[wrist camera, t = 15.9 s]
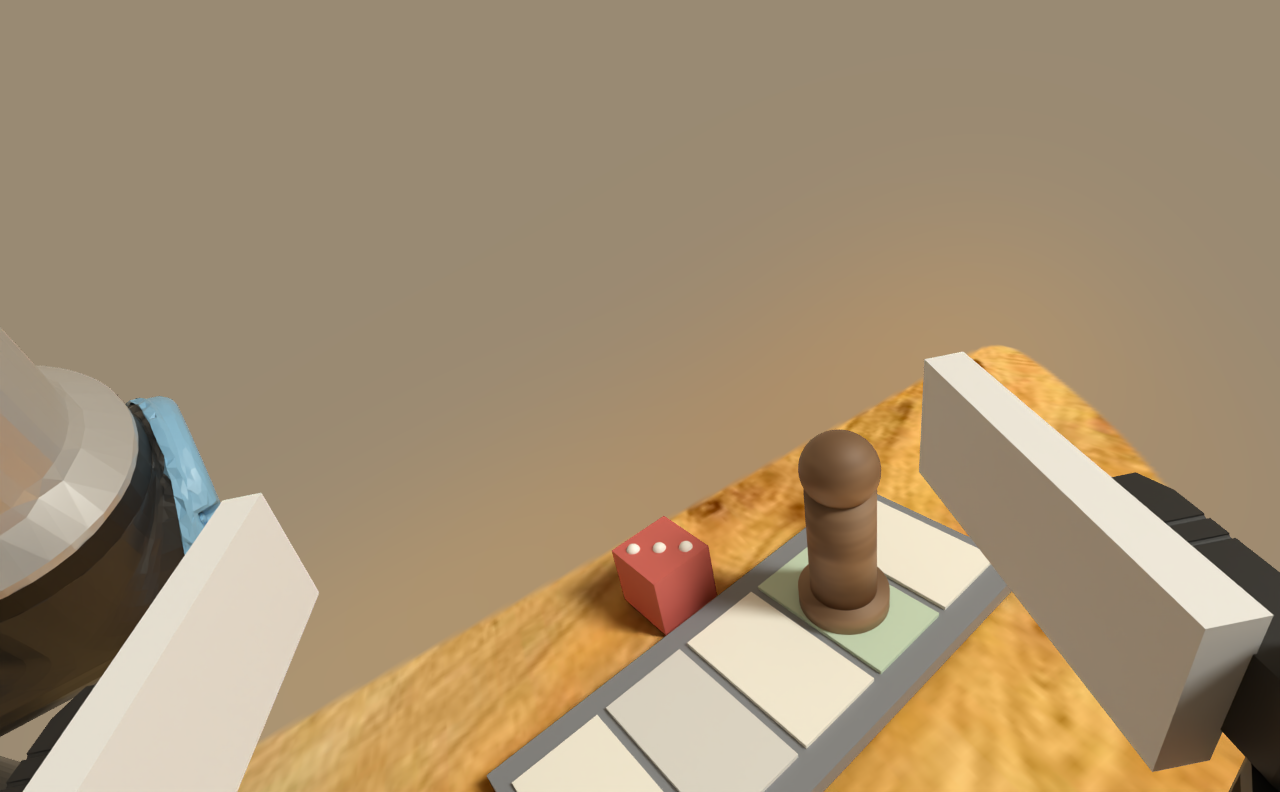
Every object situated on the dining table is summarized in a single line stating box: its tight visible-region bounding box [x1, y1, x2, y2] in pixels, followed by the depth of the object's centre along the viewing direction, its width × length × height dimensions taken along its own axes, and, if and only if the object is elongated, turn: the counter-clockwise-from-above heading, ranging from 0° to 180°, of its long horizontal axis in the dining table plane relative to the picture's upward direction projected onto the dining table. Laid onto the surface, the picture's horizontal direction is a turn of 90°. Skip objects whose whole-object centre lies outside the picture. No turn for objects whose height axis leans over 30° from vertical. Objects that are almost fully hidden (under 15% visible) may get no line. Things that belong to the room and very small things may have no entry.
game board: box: [487, 494, 1011, 792], centre depth 38 cm, size 12×31×1 cm, turn 128°
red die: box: [612, 516, 717, 635], centre depth 44 cm, size 4×4×5 cm
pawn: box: [798, 430, 890, 635], centre depth 38 cm, size 5×5×12 cm
